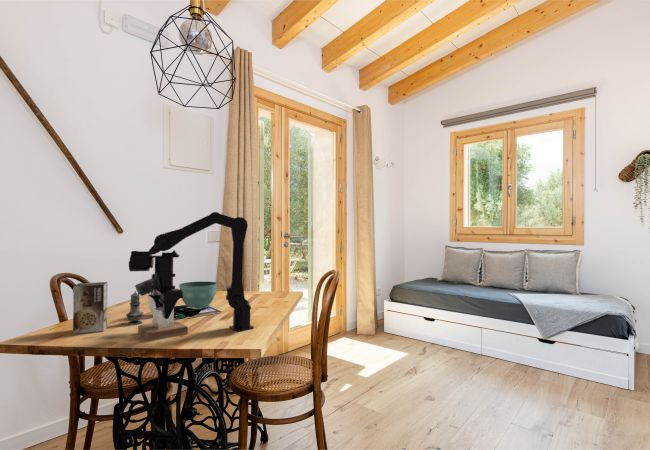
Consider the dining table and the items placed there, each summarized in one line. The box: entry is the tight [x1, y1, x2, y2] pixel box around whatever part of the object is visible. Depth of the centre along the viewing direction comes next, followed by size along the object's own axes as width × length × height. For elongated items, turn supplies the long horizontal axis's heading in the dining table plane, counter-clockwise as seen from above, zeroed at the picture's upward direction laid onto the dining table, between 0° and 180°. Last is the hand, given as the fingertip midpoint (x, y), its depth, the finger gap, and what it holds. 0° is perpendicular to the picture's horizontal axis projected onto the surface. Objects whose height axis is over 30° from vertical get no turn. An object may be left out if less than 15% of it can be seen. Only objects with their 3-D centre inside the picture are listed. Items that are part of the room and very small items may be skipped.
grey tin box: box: [152, 307, 175, 329], centre depth 120 cm, size 5×5×6 cm
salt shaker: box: [125, 290, 144, 326], centre depth 133 cm, size 6×6×12 cm
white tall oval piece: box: [147, 292, 156, 314], centre depth 145 cm, size 8×8×18 cm
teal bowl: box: [178, 280, 218, 309], centre depth 160 cm, size 16×16×11 cm
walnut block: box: [137, 319, 189, 342], centre depth 120 cm, size 12×12×3 cm
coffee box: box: [72, 281, 108, 335], centre depth 123 cm, size 9×6×16 cm
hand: (163, 317), depth 120 cm, fingers open, 6 cm apart
